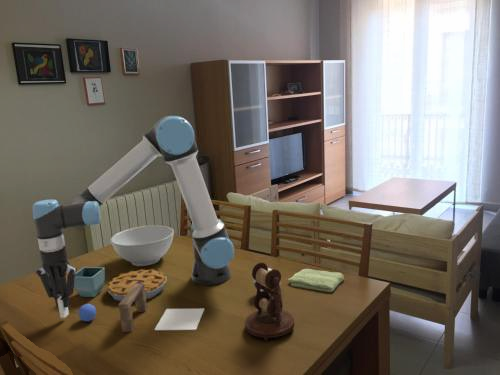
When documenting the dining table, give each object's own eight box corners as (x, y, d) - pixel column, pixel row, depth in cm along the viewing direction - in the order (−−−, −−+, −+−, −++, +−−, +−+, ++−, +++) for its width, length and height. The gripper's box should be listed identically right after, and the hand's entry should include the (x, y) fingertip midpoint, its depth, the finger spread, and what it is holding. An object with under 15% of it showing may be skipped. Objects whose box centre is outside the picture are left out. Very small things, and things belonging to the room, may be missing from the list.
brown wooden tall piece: (304, 330, 129) (301, 266, 125) (263, 348, 121) (258, 281, 117) (275, 311, 141) (271, 252, 137) (236, 326, 133) (230, 265, 129)
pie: (119, 279, 175) (117, 268, 174) (173, 276, 174) (171, 265, 173) (99, 306, 154) (97, 292, 153) (160, 302, 153) (158, 289, 152)
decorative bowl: (129, 250, 208) (126, 225, 205) (183, 249, 204) (181, 224, 201) (103, 273, 182) (99, 246, 180) (165, 273, 178) (161, 244, 175)
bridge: (147, 308, 149) (144, 283, 147) (131, 331, 135) (127, 304, 133) (138, 308, 149) (135, 283, 147) (122, 331, 135) (118, 304, 133)
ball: (100, 315, 146) (97, 300, 145) (92, 324, 141) (90, 309, 140) (84, 316, 147) (82, 301, 146) (76, 324, 141) (73, 309, 140)
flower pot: (95, 300, 158) (92, 277, 156) (74, 299, 160) (70, 276, 158) (108, 289, 166) (105, 267, 164) (87, 288, 168) (84, 267, 166)
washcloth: (301, 272, 170) (301, 265, 169) (345, 280, 161) (345, 272, 160) (286, 286, 159) (286, 278, 159) (332, 295, 150) (332, 286, 149)
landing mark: (204, 308, 146) (204, 308, 146) (195, 329, 133) (195, 329, 133) (166, 309, 147) (166, 309, 147) (154, 330, 135) (154, 329, 135)
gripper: (26, 253, 137) (39, 321, 142) (65, 252, 135) (77, 321, 140) (40, 244, 144) (52, 310, 149) (77, 243, 142) (88, 309, 147)
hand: (64, 315), depth 144 cm, fingers closed
